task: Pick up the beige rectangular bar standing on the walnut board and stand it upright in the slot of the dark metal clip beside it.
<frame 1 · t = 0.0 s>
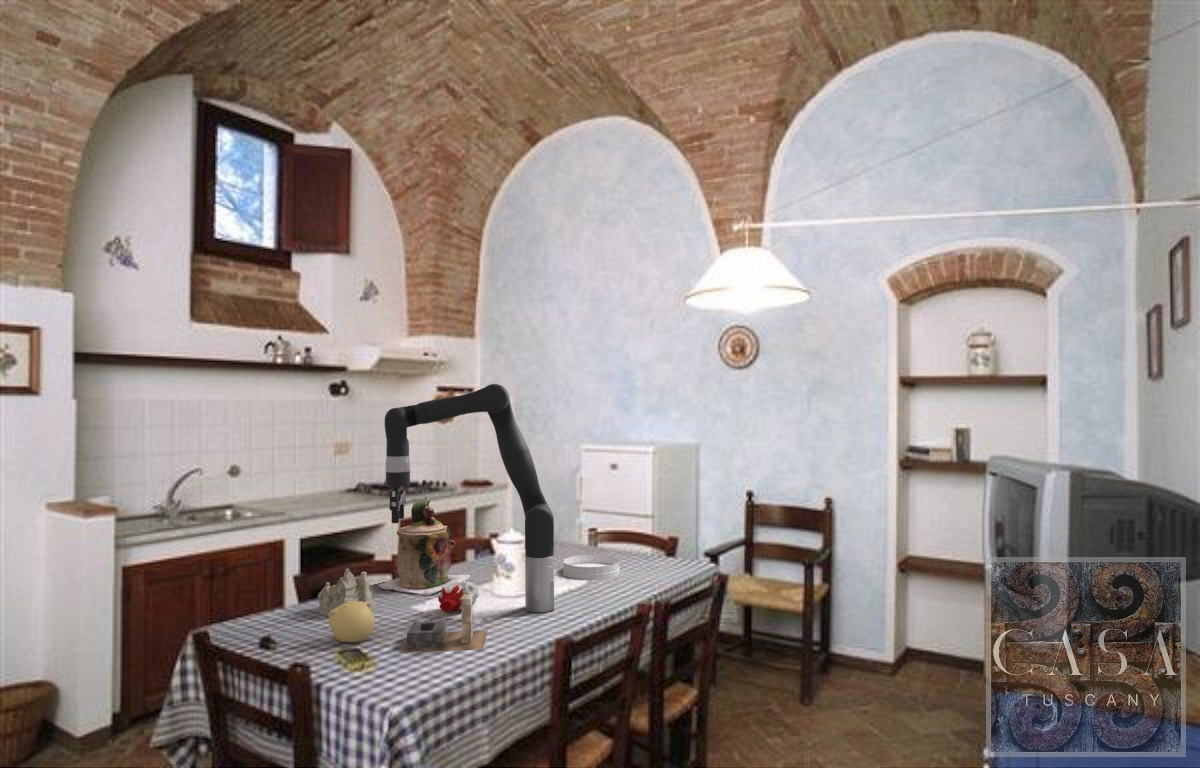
hand: (397, 520, 236), 29 cm above the table, fingers open, 8 cm apart
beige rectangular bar: (467, 640, 204), point 1 cm above the table, touching wick board
cream sphere: (352, 640, 210), on the table
red-white knobbly ovoid: (455, 612, 237), on the table
dish: (591, 574, 287), on the table
cookie jar: (424, 585, 270), on the table
wick board: (445, 646, 203), on the table
ceramic cottage: (347, 611, 239), on the table
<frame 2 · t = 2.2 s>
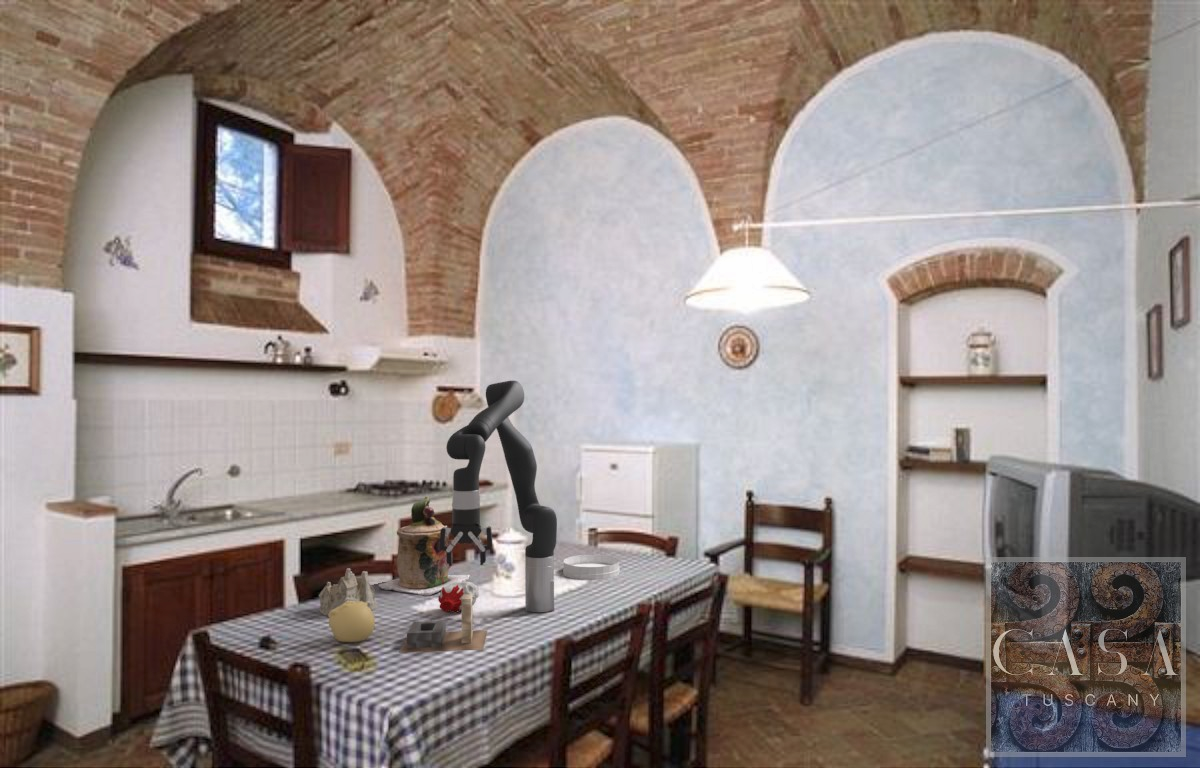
hand: (466, 565, 204), 22 cm above the table, fingers open, 8 cm apart
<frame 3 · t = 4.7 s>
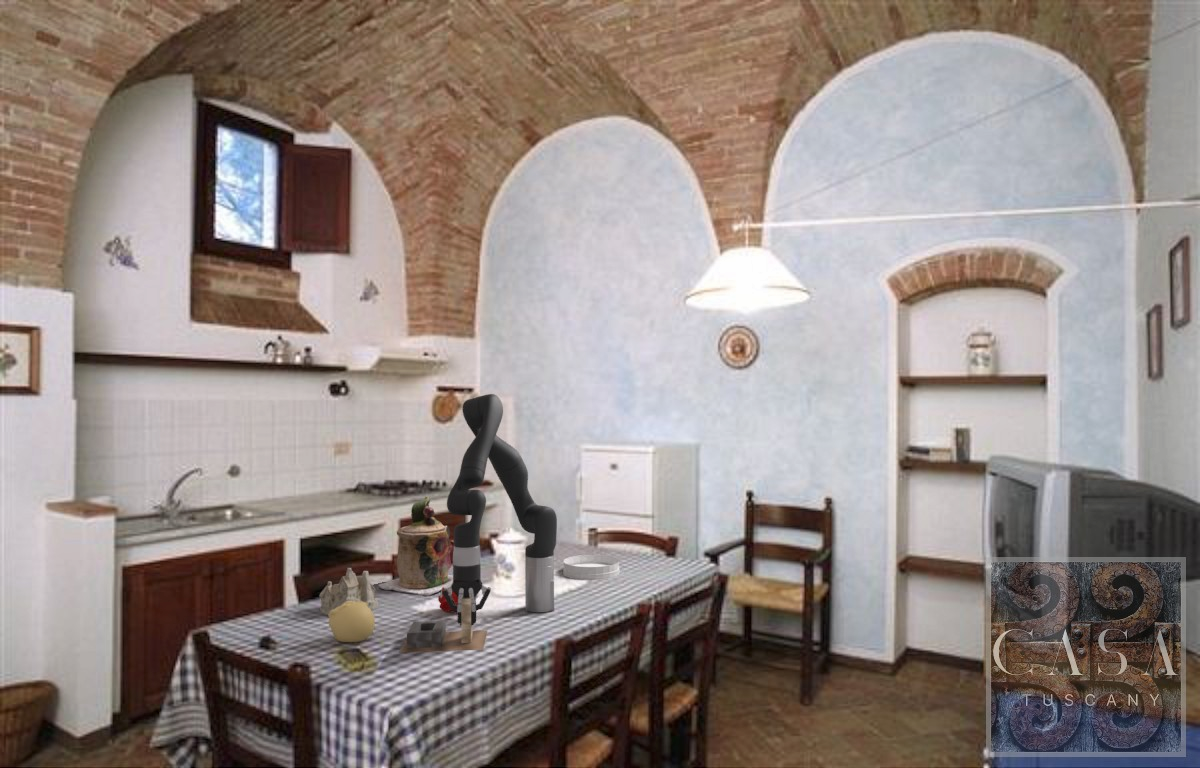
hand: (466, 624, 204), 6 cm above the table, fingers closed on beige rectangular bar, 2 cm apart
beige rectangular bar: (467, 640, 204), point 2 cm above the table, touching gripper
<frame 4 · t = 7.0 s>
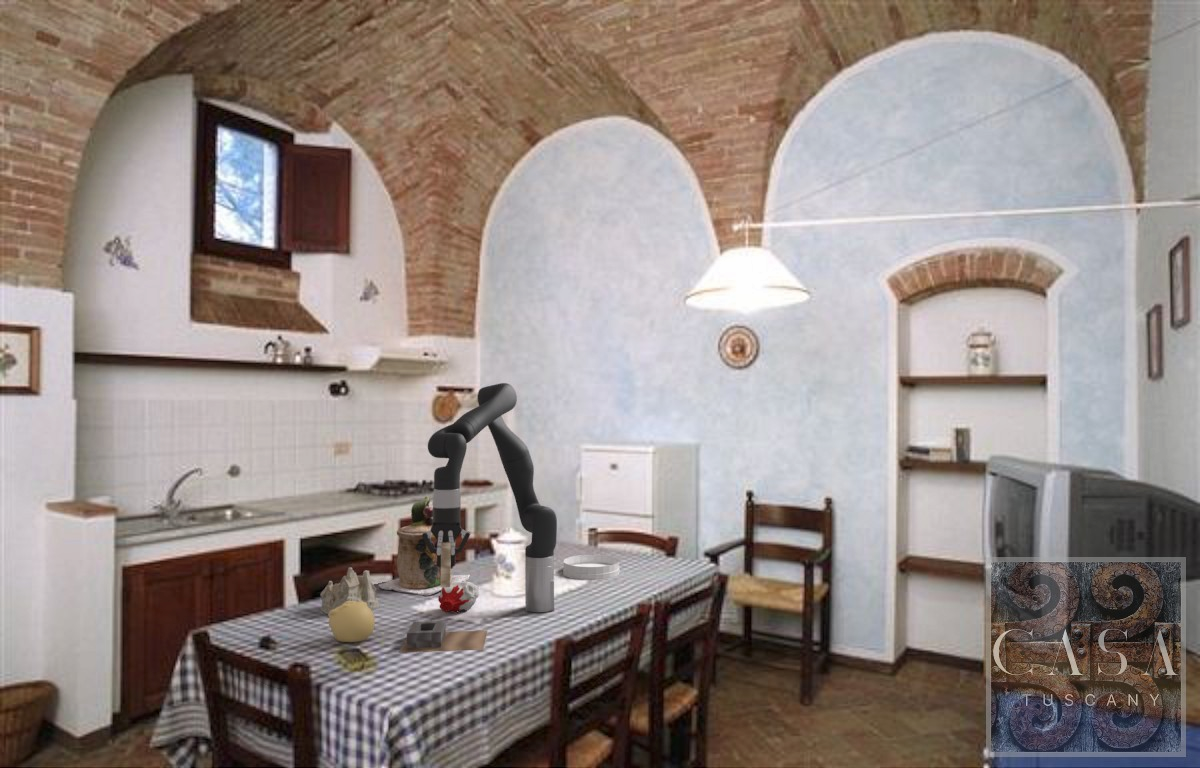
hand: (446, 567, 203), 22 cm above the table, fingers closed on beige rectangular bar
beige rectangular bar: (446, 585, 203), point 17 cm above the table, touching gripper
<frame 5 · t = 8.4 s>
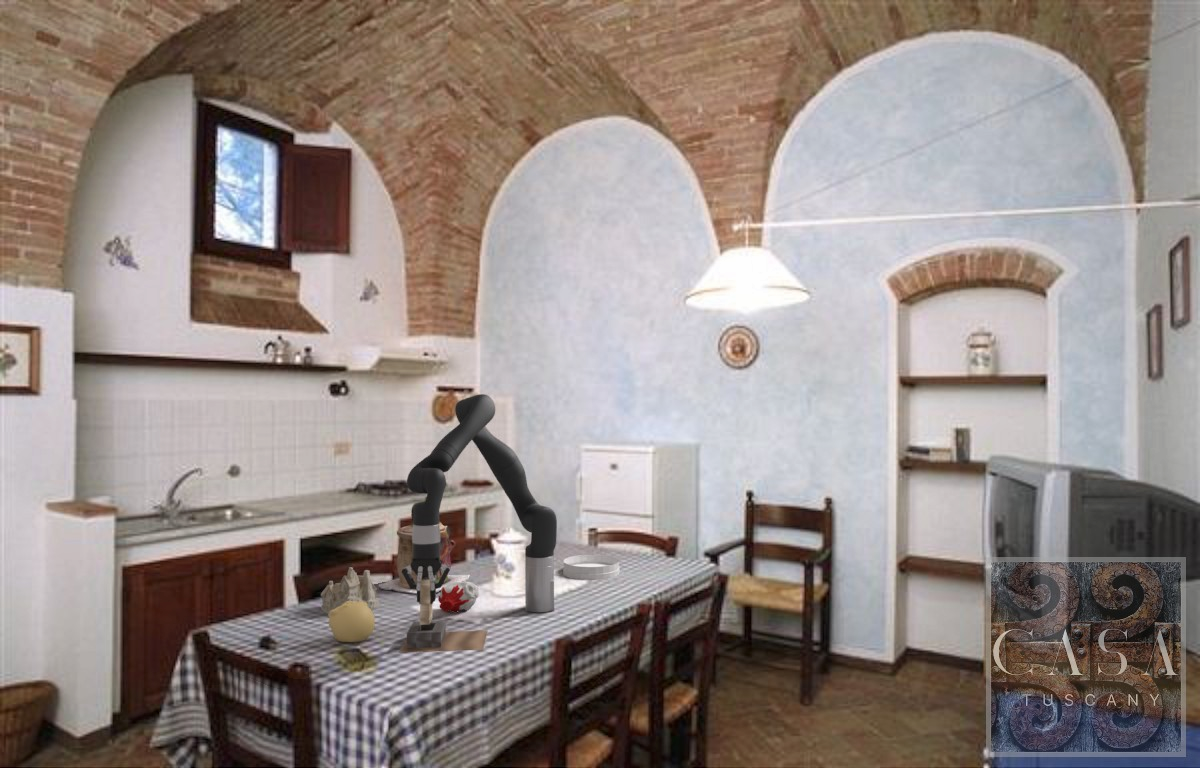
hand: (426, 603, 203), 12 cm above the table, fingers closed on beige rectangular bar
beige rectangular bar: (426, 621, 203), point 7 cm above the table, touching gripper
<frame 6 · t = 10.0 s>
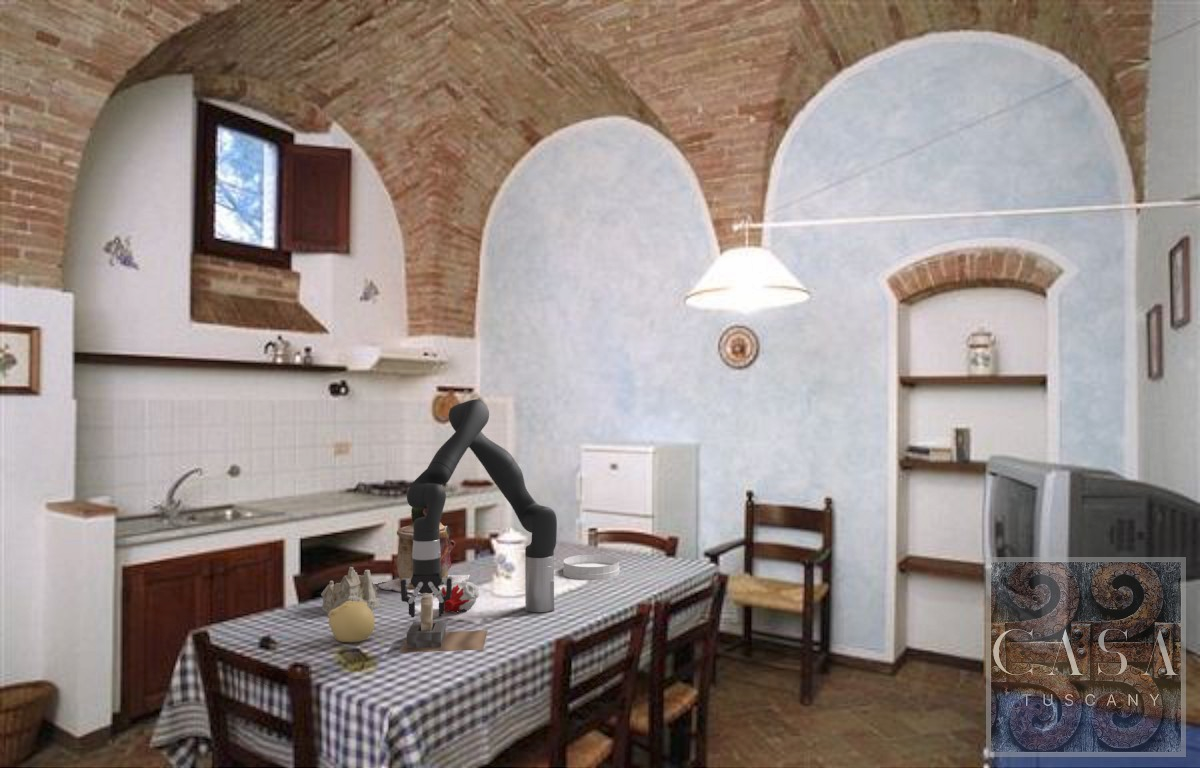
hand: (426, 615, 203), 8 cm above the table, fingers open, 7 cm apart
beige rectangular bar: (427, 640, 204), point 1 cm above the table, touching wick board
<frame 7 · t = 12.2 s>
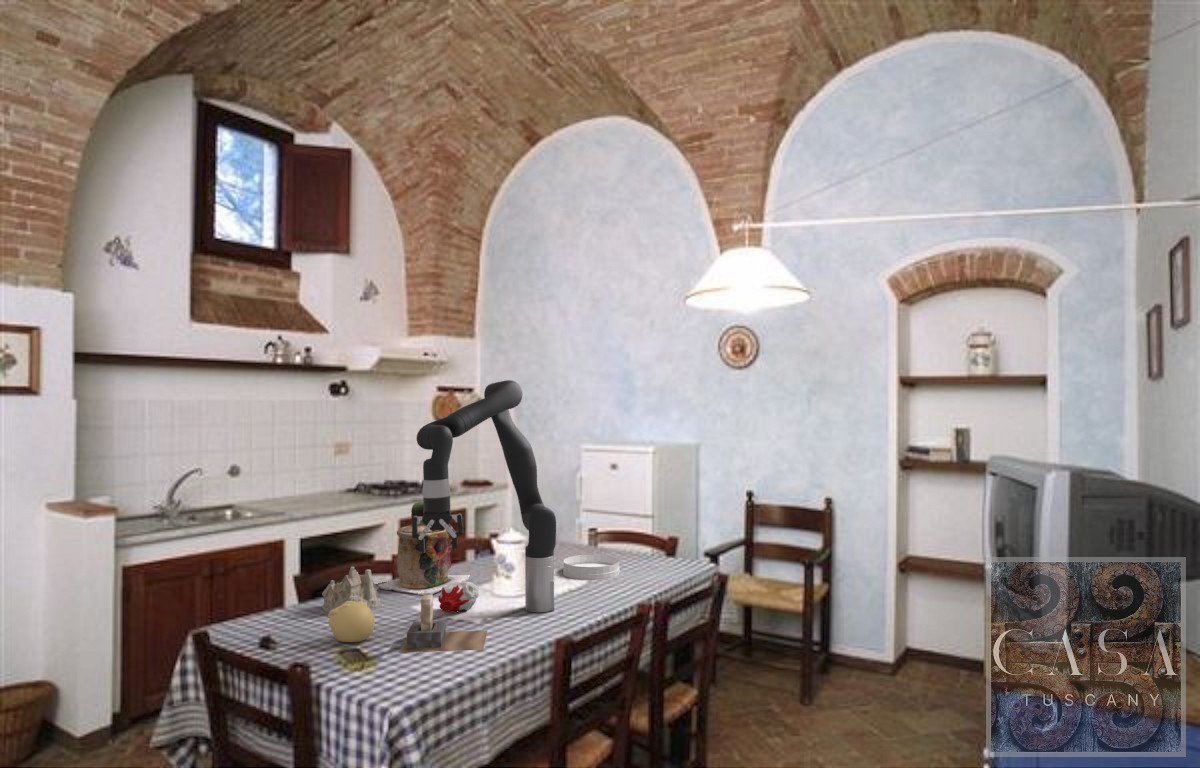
hand: (438, 551, 211), 25 cm above the table, fingers open, 8 cm apart
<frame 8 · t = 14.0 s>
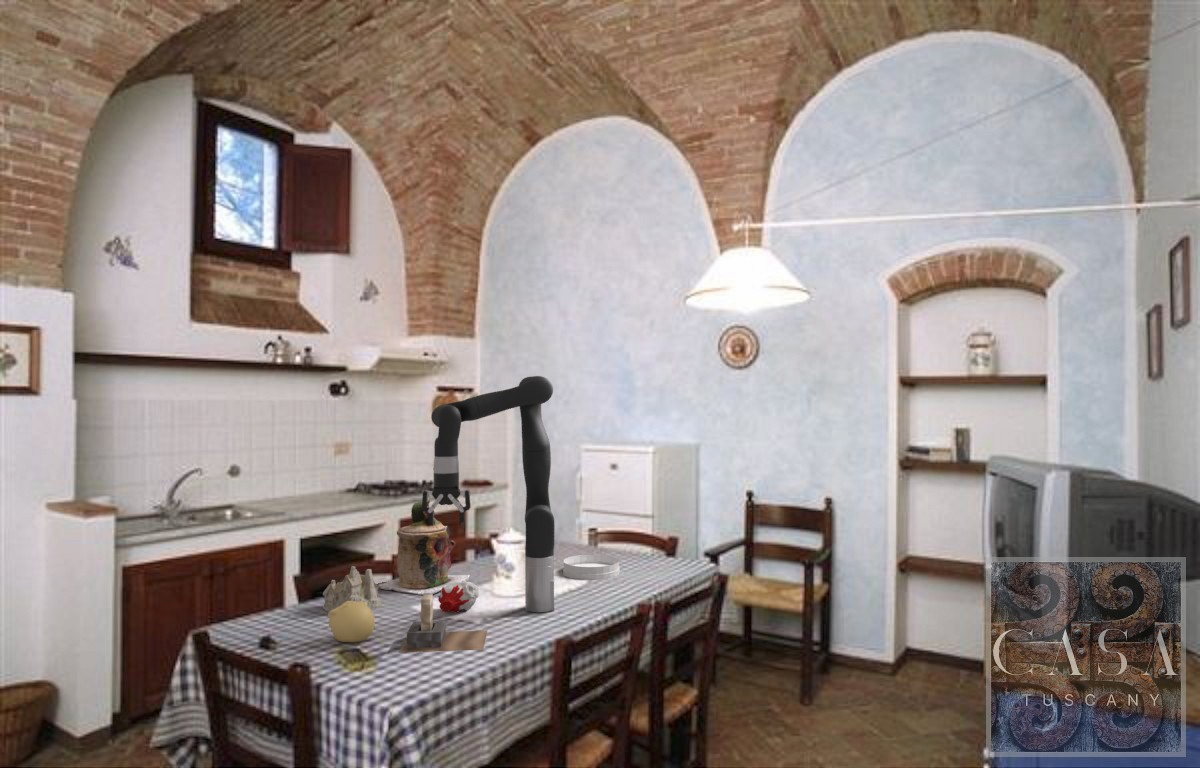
hand: (446, 524, 223), 30 cm above the table, fingers open, 8 cm apart
at the end: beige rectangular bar 0.7 cm from the target spot on the wick board, point 1.5 cm above the wick board's base; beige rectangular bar tilted 0°; the gripper is holding nothing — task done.
